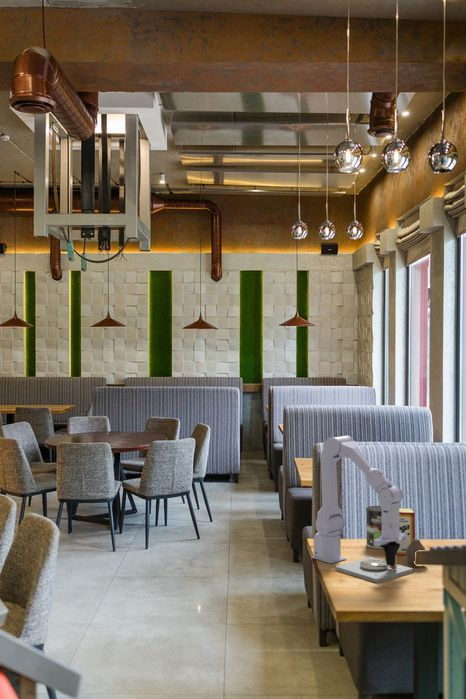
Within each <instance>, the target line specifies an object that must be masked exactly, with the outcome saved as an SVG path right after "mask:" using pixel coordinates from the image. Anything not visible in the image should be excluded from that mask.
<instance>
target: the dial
mask: <svg viewBox="0 0 466 699" xmlns="http://www.w3.org/2000/svg"><path fill="white" fill-rule="evenodd" d="M397 559H398V556H397V555H396V557H395V565H394V566H390V565H387V563H386V562H385V561H386V560H384V561H381V560H382V559H380V560H372V559H371V560H363V561H361V562H360V567H361V568H363V569H366V570H373V571H379V570H385V569H387V568H391V569H397V563H398V560H397Z"/></svg>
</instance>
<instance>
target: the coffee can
mask: <svg viewBox="0 0 466 699" xmlns="http://www.w3.org/2000/svg"><path fill="white" fill-rule="evenodd" d="M365 512H366V516H365V517H366V546H367V547H368V548H371V549H377V550H378V549H379V550H384V549H383V547H382V546H381V545H380V546H379V547H377V546H374V539H377V538H379V537H380V536H382V508H381V505H370V506H367V507H365Z"/></svg>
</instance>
